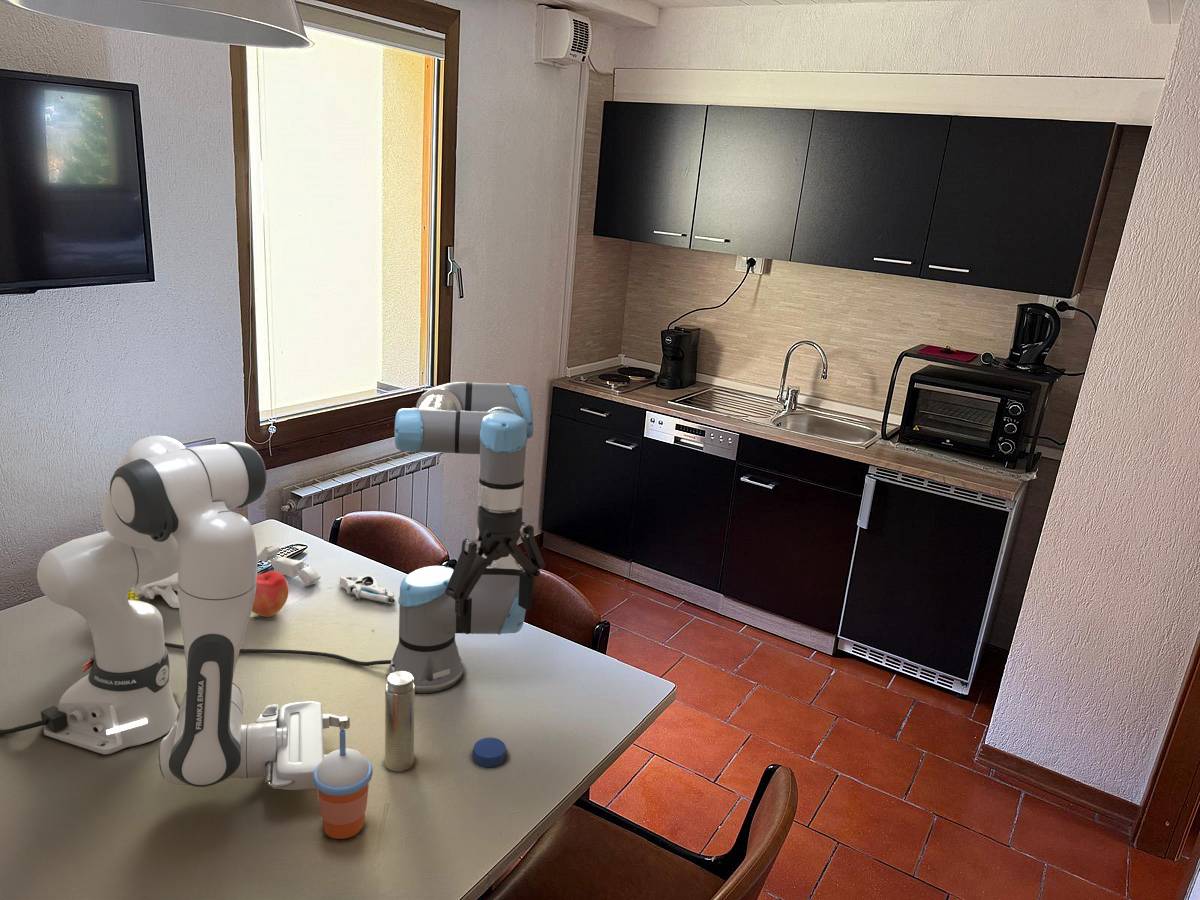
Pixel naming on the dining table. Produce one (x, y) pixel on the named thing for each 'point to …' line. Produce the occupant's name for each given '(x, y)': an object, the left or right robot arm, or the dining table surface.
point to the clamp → (289, 565)
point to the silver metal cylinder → (399, 721)
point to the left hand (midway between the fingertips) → (351, 737)
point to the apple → (270, 593)
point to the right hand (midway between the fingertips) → (495, 618)
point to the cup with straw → (343, 790)
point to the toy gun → (366, 589)
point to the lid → (489, 752)
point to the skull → (163, 590)
